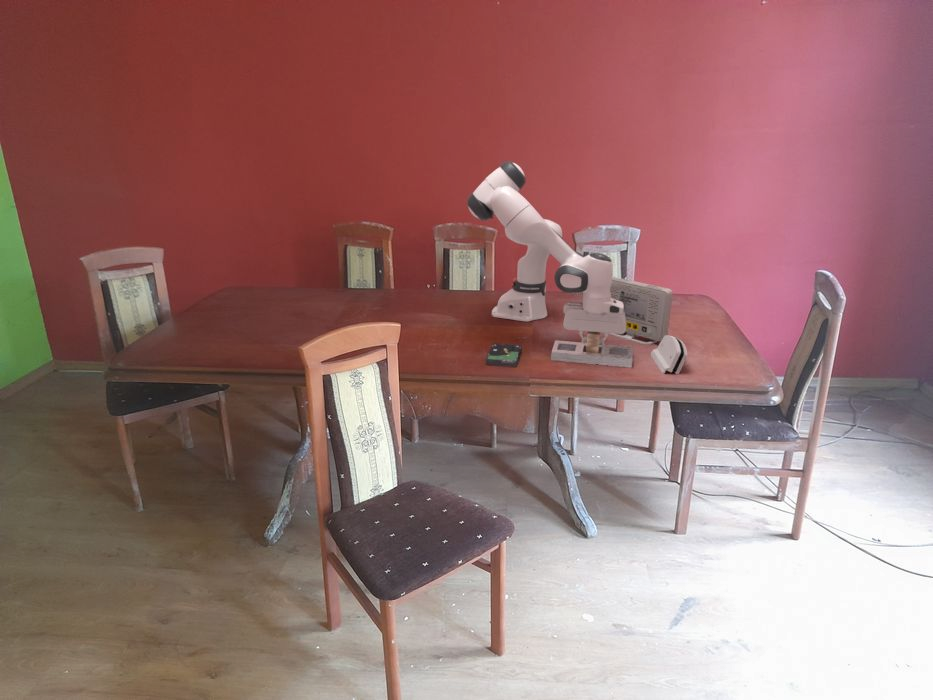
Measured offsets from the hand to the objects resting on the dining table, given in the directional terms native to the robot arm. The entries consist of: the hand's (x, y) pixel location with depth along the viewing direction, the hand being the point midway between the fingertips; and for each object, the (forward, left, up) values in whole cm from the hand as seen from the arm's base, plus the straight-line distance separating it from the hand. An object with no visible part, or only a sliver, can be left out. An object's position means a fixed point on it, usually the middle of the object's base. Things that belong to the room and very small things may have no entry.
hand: (592, 343), depth 199 cm
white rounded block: (+25, +1, -6) cm, 25 cm away
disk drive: (-29, -7, -6) cm, 30 cm away
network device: (+13, +24, -5) cm, 28 cm away
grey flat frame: (0, 0, -5) cm, 5 cm away
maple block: (0, 0, -5) cm, 5 cm away
